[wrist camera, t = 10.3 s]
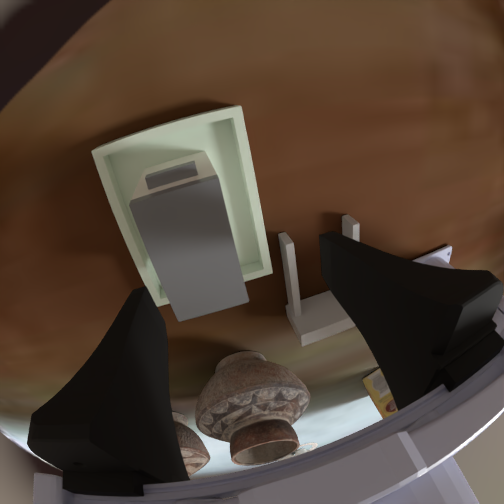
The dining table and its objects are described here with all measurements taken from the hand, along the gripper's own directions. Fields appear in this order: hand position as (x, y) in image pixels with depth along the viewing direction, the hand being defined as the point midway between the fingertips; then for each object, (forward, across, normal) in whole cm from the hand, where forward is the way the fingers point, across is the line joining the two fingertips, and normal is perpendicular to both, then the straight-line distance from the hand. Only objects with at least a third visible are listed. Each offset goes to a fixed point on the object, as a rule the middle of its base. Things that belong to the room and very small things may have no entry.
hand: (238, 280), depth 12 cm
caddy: (+9, +2, 0) cm, 9 cm away
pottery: (+10, +8, +23) cm, 26 cm away
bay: (+10, -7, +8) cm, 14 cm away
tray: (+10, +2, 0) cm, 10 cm away
